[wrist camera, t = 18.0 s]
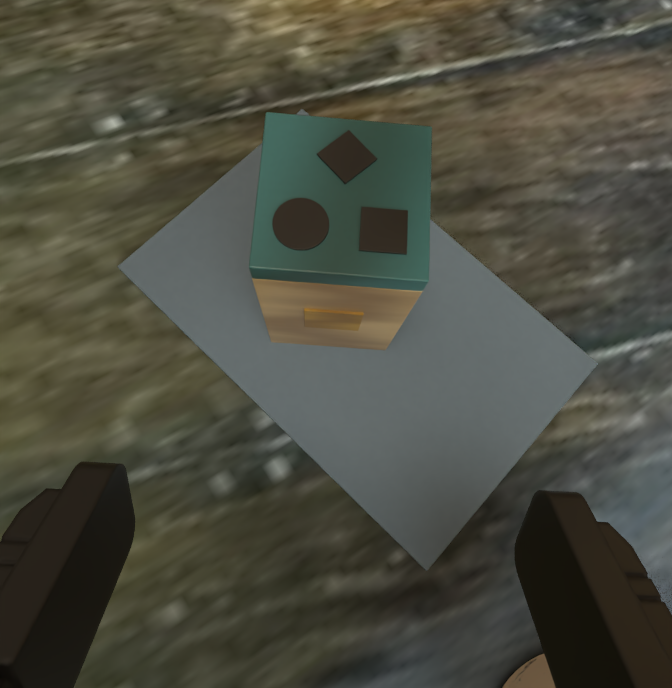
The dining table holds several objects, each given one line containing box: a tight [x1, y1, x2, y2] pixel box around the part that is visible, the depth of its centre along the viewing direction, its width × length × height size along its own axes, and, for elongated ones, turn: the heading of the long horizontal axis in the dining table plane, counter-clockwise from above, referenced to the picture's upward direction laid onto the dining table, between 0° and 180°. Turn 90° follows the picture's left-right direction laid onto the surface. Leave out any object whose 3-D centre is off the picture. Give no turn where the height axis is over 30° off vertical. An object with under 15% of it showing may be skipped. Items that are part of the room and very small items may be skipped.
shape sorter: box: [249, 112, 432, 350], centre depth 22 cm, size 6×6×10 cm
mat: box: [118, 109, 598, 571], centre depth 27 cm, size 22×14×1 cm, turn 46°
